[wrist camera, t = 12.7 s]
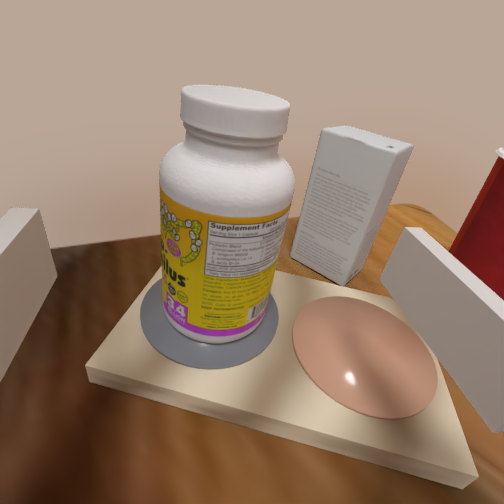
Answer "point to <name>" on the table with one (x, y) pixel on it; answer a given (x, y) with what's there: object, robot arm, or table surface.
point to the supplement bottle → (223, 211)
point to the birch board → (290, 392)
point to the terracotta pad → (364, 358)
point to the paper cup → (485, 232)
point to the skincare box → (347, 200)
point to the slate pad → (198, 352)
